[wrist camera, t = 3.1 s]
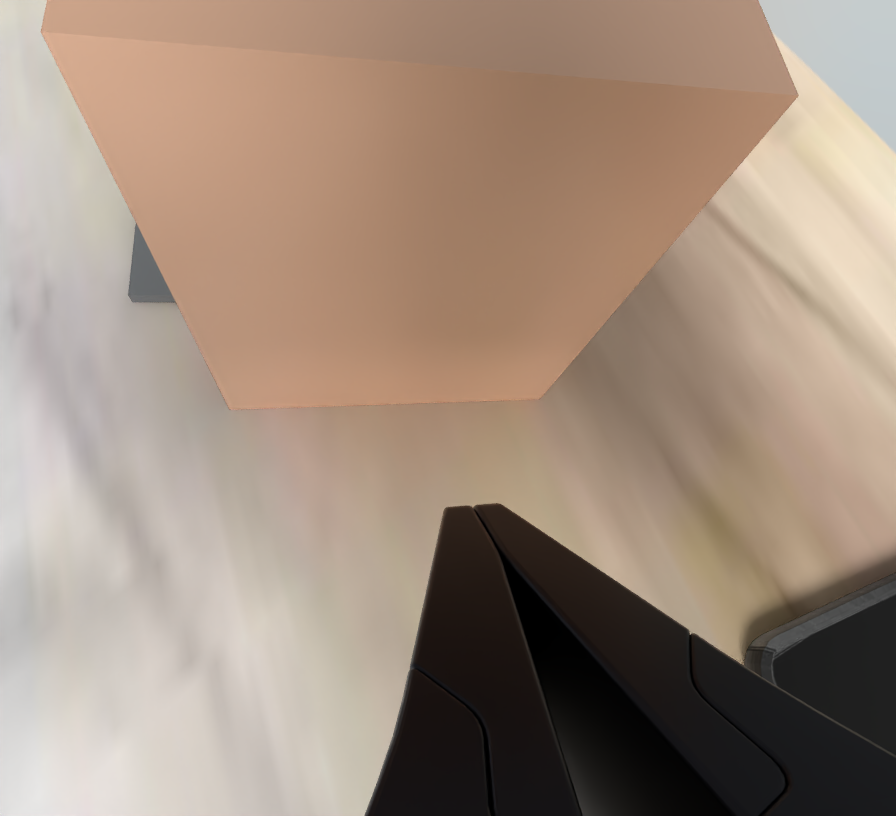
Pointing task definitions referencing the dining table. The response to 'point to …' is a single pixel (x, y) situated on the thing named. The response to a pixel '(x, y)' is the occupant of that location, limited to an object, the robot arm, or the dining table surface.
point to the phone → (839, 660)
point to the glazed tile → (412, 174)
